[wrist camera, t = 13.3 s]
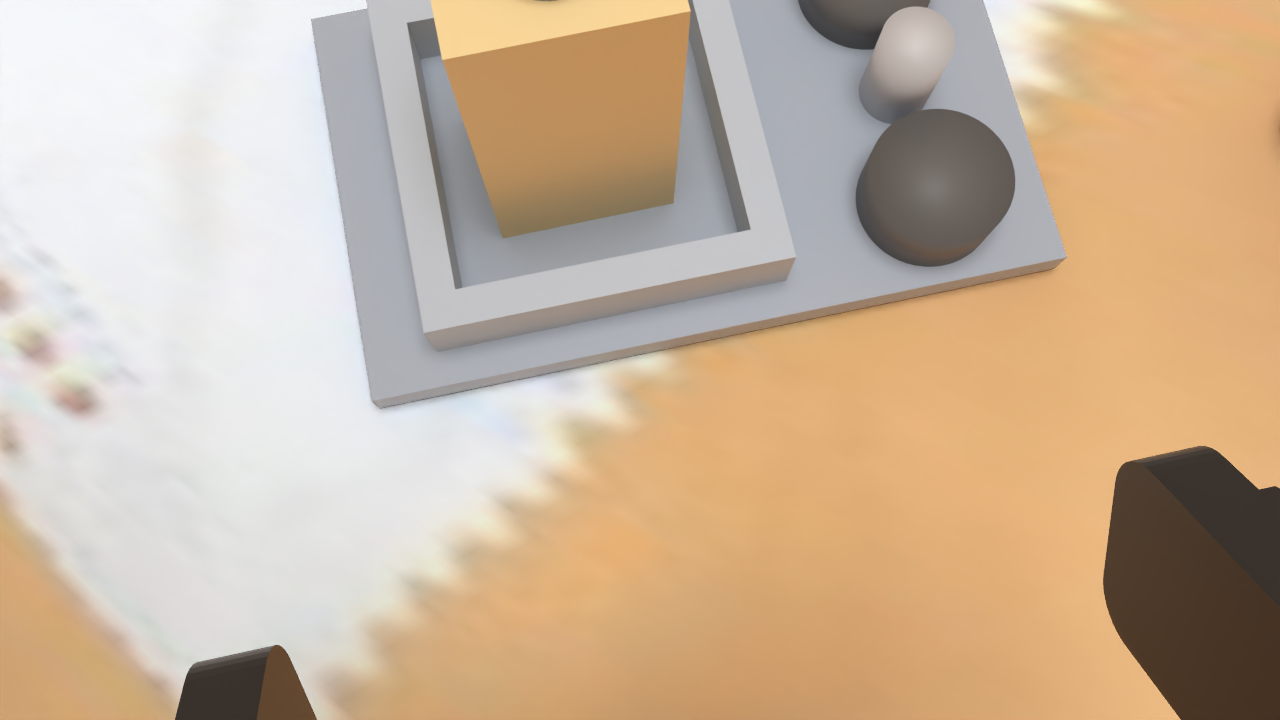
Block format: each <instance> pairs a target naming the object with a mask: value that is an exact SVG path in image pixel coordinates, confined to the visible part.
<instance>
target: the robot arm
mask: <svg viewBox="0 0 1280 720" xmlns="http://www.w3.org/2000/svg"><path fill="white" fill-rule="evenodd" d="M1103 586H1104V594H1105V600H1106V604H1107V608H1108V611H1109V614H1110V617H1111V619H1112V622H1113V624H1114V626H1115V628H1116V631H1117V632H1118V634H1119V636H1120V638H1121V639H1122V641H1123V642H1124V644H1125V645H1126V647H1127V648H1128V649H1129V651H1130V652H1131V653H1132V655H1133V656H1134V657H1135V659H1136V660H1137V661H1138V663H1139V664H1140V665H1141V667H1142V668H1143V669H1144V671H1145V672H1146V673H1147V675H1148V676H1149V677H1150V679H1151V680H1152V681H1153V683H1154V684H1155V685H1156V687H1157V688H1158V689H1159V691H1160V692H1161V694H1162V695H1163V696H1164V698H1165V699H1166V700H1167V702H1168V703H1169V704H1170V706H1171V707H1172V708H1173V710H1174V711H1175V712H1176V714H1177V715H1178V716H1179V718H1180V719H1181V720H1280V488H1278V487H1276V486H1274V487H1269V488H1265V489H1260V490H1259V489H1258V488H1256V487H1255V486H1254V485H1253V484H1252V483H1251V482H1250V481H1249V480H1248V479H1247V478H1246V477H1245V476H1244V475H1243V474H1242V473H1240V472H1239V471H1238V470H1237V469H1236V468H1235V467H1234V466H1233V465H1232V464H1231V463H1230V462H1229V461H1228V460H1227V459H1226V458H1224V457H1223V456H1222V455H1221V454H1220V453H1219V452H1217V451H1216V450H1214V449H1212V448H1210V447H1206V446H1197V447H1193V448H1188V449H1184V450H1179V451H1175V452H1170V453H1165V454H1161V455H1156V456H1152V457H1147V458H1143V459H1138V460H1133V461H1129V462H1126V463H1124V464H1123V465H1122V466H1121V468H1120V469H1119V471H1118V473H1117V477H1116V482H1115V489H1114V497H1113V505H1112V513H1111V521H1110V529H1109V536H1108V544H1107V552H1106V560H1105V568H1104V577H1103ZM175 720H317V719H316V716H315V714H314V712H313V710H312V707H311V705H310V703H309V700H308V698H307V696H306V694H305V691H304V689H303V687H302V685H301V682H300V680H299V678H298V675H297V673H296V671H295V669H294V666H293V664H292V662H291V660H290V658H289V656H288V654H287V652H286V651H285V650H284V649H283V648H282V647H281V646H279V645H274V646H270V647H265V648H261V649H256V650H252V651H247V652H242V653H238V654H233V655H229V656H224V657H219V658H215V659H210V660H206V661H201V662H197V663H195V664H193V665H192V667H191V668H190V669H189V671H188V673H187V676H186V679H185V682H184V686H183V690H182V694H181V698H180V702H179V706H178V710H177V714H176V718H175Z"/></svg>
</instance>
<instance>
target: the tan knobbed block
mask: <svg viewBox="0 0 1280 720" xmlns="http://www.w3.org/2000/svg"><path fill="white" fill-rule="evenodd" d="M431 5H432V11H433V16H434V21H435V26H436V31H437V36H438V41H439V46H440V51H441V56H442V61H443V64H444V67H445V70H446V72H447V75H448V78H449V81H450V84H451V87H452V90H453V93H454V96H455V99H456V102H457V105H458V108H459V111H460V114H461V117H462V119H463V122H464V125H465V128H466V131H467V134H468V137H469V140H470V143H471V146H472V149H473V152H474V155H475V158H476V161H477V164H478V166H479V169H480V172H481V175H482V178H483V181H484V184H485V187H486V190H487V193H488V196H489V199H490V202H491V205H492V208H493V211H494V213H495V216H496V219H497V222H498V225H499V228H500V231H501V234H502V237H503V238H508V237H512V236H517V235H522V234H527V233H532V232H537V231H541V230H546V229H551V228H556V227H561V226H566V225H570V224H575V223H580V222H585V221H590V220H595V219H599V218H604V217H609V216H614V215H619V214H624V213H628V212H633V211H638V210H643V209H648V208H653V207H657V206H662V205H667V204H672V203H674V192H675V181H676V170H677V158H678V147H679V136H680V125H681V114H682V103H683V92H684V80H685V69H686V58H687V47H688V36H689V25H690V13H691V10H690V7H689V3H688V0H431Z"/></svg>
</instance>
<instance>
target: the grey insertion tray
mask: <svg viewBox="0 0 1280 720" xmlns="http://www.w3.org/2000/svg"><path fill="white" fill-rule="evenodd" d="M366 2H367V7H368V9H363V10H358V11H353V12H347V13H342V14H337V15H331V16H326V17H321V18H315V19H311V21H312V28H313V34H314V40H315V47H316V53H317V59H318V65H319V72H320V78H321V84H322V91H323V97H324V103H325V110H326V116H327V122H328V129H329V135H330V141H331V148H332V154H333V160H334V166H335V173H336V179H337V185H338V192H339V198H340V204H341V211H342V217H343V223H344V230H345V236H346V242H347V248H348V255H349V261H350V267H351V274H352V280H353V286H354V293H355V299H356V305H357V312H358V318H359V324H360V331H361V337H362V343H363V349H364V356H365V362H366V368H367V375H368V381H369V387H370V394H371V400H372V402H373V403H374V404H376V405H377V406H378V407H379V408H384V407H388V406H393V405H398V404H403V403H408V402H413V401H417V400H422V399H427V398H432V397H437V396H442V395H446V394H451V393H456V392H461V391H466V390H471V389H475V388H480V387H485V386H490V385H495V384H499V383H504V382H509V381H514V380H519V379H524V378H528V377H533V376H538V375H543V374H548V373H553V372H557V371H562V370H567V369H572V368H577V367H581V366H586V365H591V364H596V363H601V362H606V361H610V360H615V359H620V358H625V357H630V356H635V355H639V354H644V353H649V352H654V351H659V350H664V349H668V348H673V347H678V346H683V345H688V344H692V343H697V342H702V341H707V340H712V339H717V338H721V337H726V336H731V335H736V334H741V333H746V332H750V331H755V330H760V329H765V328H770V327H774V326H779V325H784V324H789V323H794V322H799V321H803V320H808V319H813V318H818V317H823V316H828V315H832V314H837V313H842V312H847V311H852V310H857V309H861V308H866V307H871V306H876V305H881V304H885V303H890V302H895V301H900V300H905V299H910V298H914V297H919V296H924V295H929V294H934V293H939V292H943V291H948V290H953V289H958V288H963V287H968V286H972V285H977V284H982V283H987V282H992V281H996V280H1001V279H1006V278H1011V277H1016V276H1021V275H1025V274H1030V273H1035V272H1040V271H1045V270H1050V269H1054V268H1055V267H1056V266H1057V265H1059V264H1060V263H1061V262H1062V261H1063V260H1064V259H1066V258H1067V256H1066V253H1065V250H1064V247H1063V244H1062V241H1061V238H1060V235H1059V232H1058V229H1057V226H1056V222H1055V219H1054V216H1053V213H1052V210H1051V207H1050V204H1049V201H1048V198H1047V195H1046V192H1045V189H1044V186H1043V183H1042V180H1041V177H1040V173H1039V170H1038V167H1037V164H1036V161H1035V158H1034V155H1033V152H1032V149H1031V146H1030V143H1029V140H1028V137H1027V134H1026V131H1025V128H1024V124H1023V121H1022V118H1021V115H1020V112H1019V109H1018V106H1017V103H1016V100H1015V97H1014V94H1013V91H1012V88H1011V85H1010V82H1009V78H1008V75H1007V72H1006V69H1005V66H1004V63H1003V60H1002V57H1001V54H1000V51H999V48H998V45H997V42H996V39H995V36H994V33H993V29H992V26H991V23H990V20H989V17H988V14H987V11H986V8H985V5H984V2H983V0H688V3H689V7H690V10H691V13H690V25H689V36H688V47H687V58H686V69H685V80H684V92H683V103H682V114H681V125H680V136H679V147H678V158H677V170H676V181H675V192H674V203H672V204H667V205H662V206H657V207H653V208H648V209H643V210H638V211H633V212H628V213H624V214H619V215H614V216H609V217H604V218H599V219H595V220H590V221H585V222H580V223H575V224H570V225H566V226H561V227H556V228H551V229H546V230H541V231H537V232H532V233H527V234H522V235H517V236H512V237H508V238H503V237H502V234H501V231H500V228H499V225H498V222H497V219H496V216H495V213H494V211H493V208H492V205H491V202H490V199H489V196H488V193H487V190H486V187H485V184H484V181H483V178H482V175H481V172H480V169H479V166H478V164H477V161H476V158H475V155H474V152H473V149H472V146H471V143H470V140H469V137H468V134H467V131H466V128H465V125H464V122H463V119H462V117H461V114H460V111H459V108H458V105H457V102H456V99H455V96H454V93H453V90H452V87H451V84H450V81H449V78H448V75H447V72H446V70H445V67H444V64H443V61H442V56H441V51H440V46H439V41H438V36H437V31H436V26H435V21H434V16H433V11H432V5H431V0H366Z"/></svg>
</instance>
